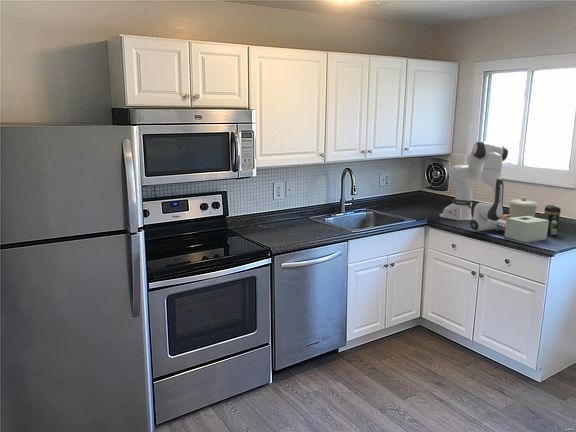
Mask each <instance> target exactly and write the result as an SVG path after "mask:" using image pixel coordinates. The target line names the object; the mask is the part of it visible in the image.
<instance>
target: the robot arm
mask: <svg viewBox="0 0 576 432" xmlns="http://www.w3.org/2000/svg"><path fill="white" fill-rule="evenodd" d="M508 155H509V149H508V147H506V146H505V145H500V144H496V143H491V142H489V141H486V140H483V141H477V142H476V143H474V145H473V147H472V150H471V152H470V153H469V155H468V156H467V159H466V162H467V164H457V165H456V164H455V165H451V167H450V168H449V170H448V176H449V178H450V179H451V181H453V182H454V185H455V198H453V199H451V201H452V203H451V204H449V205H447V206H445V208H443V212H442V213H440V214H439V217H440V218H445V219H448V220H449V219H451V220H456V221H469V226H470V228H471V230H473V231H476V232H484V231H494V230H496V229H497V228H500V227H501V228H506V221H505V220H501V217H502V215H504V207H503V205H504V203H503V202H504V188H505V187H504V185H505V184H504V180H503V179H502V176H501V175H502V169H503V162H504V161H506V159H507V158H508ZM478 180H479V181H480V180H482V181H483V182H484V183H485V184H486V185H488V186H489V187H491V188H492V190H493V198H492V203H485V202H478V203H476V204H475V205H474V207H473V210H472V206H473V193H474V191H473V188H472V187H471V186H470V185H469V184H468V181H478ZM472 215H473V216H472Z"/></svg>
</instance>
